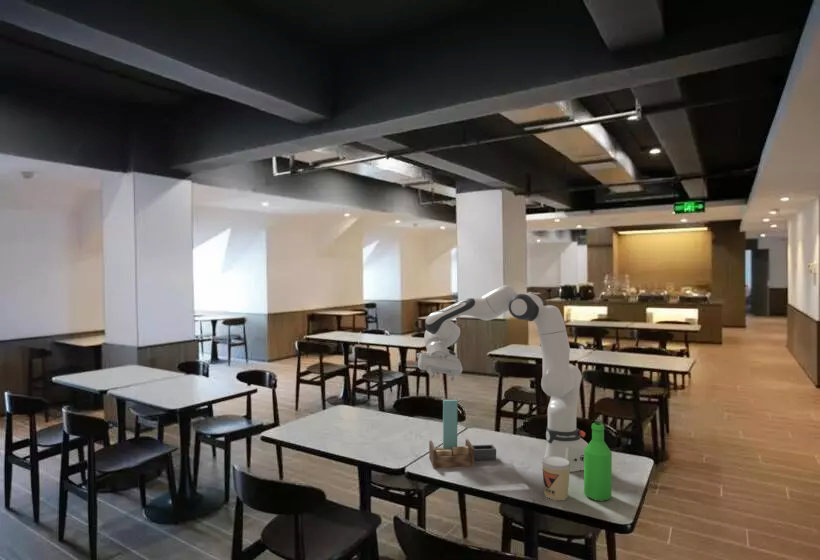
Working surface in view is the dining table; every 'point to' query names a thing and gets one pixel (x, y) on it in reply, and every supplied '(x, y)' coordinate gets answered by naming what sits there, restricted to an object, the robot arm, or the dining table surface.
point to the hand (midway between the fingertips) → (442, 378)
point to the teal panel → (449, 424)
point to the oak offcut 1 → (444, 452)
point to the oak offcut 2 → (460, 450)
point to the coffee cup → (556, 477)
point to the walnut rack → (451, 458)
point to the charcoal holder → (484, 453)
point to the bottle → (597, 466)
